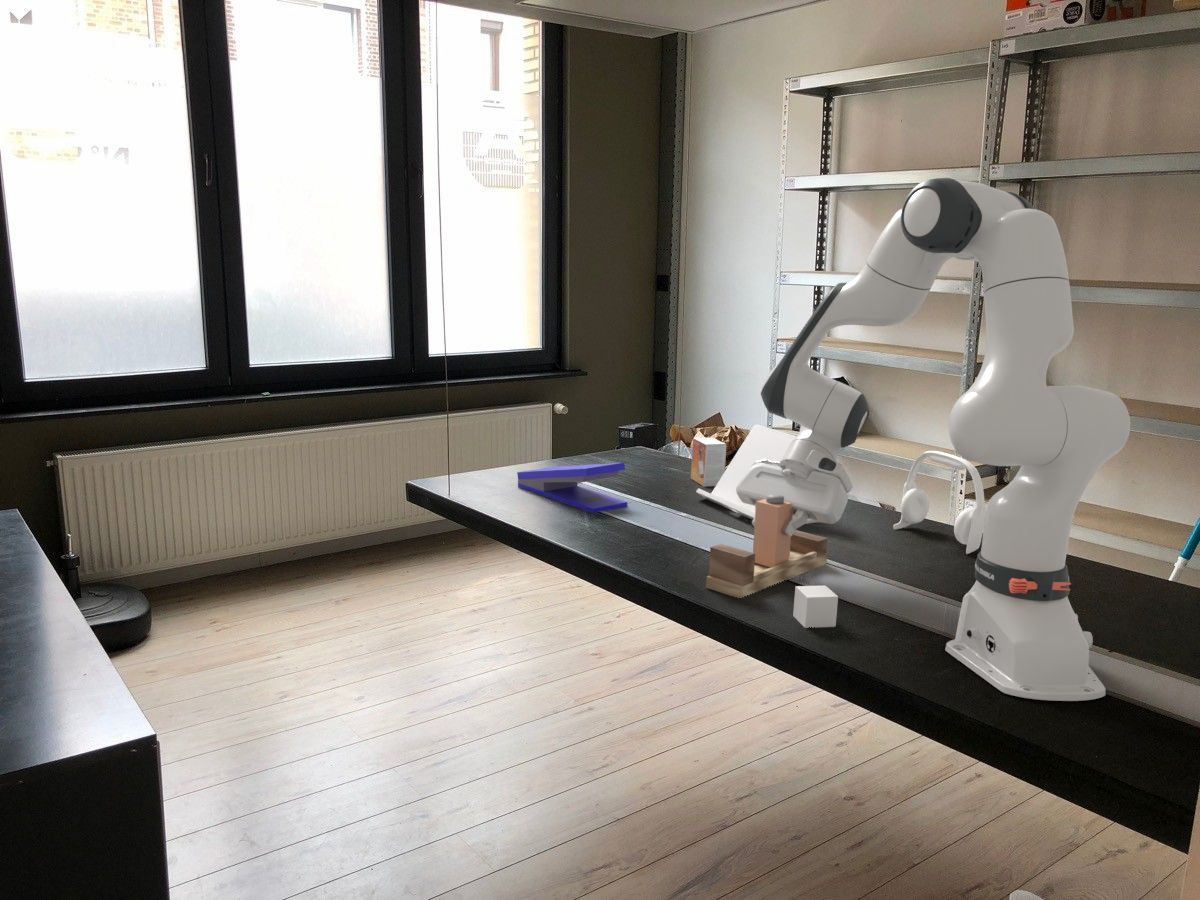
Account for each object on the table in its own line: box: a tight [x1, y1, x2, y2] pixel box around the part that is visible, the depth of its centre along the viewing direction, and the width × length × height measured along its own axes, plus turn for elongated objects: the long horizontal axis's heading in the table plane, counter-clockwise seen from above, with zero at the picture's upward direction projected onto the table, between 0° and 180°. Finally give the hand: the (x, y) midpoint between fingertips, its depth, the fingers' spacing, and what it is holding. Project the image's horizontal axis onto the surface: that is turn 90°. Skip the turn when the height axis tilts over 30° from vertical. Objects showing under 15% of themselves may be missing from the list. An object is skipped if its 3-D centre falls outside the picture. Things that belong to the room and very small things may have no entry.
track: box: [705, 529, 828, 599], centre depth 171 cm, size 27×7×7 cm, turn 136°
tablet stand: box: [696, 423, 820, 525], centre depth 213 cm, size 18×25×17 cm
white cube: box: [792, 584, 839, 629], centre depth 150 cm, size 5×5×5 cm
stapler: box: [516, 462, 629, 514], centre depth 220 cm, size 12×28×10 cm, turn 40°
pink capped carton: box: [752, 494, 793, 567], centre depth 170 cm, size 5×5×12 cm
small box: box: [690, 437, 727, 488], centre depth 237 cm, size 8×6×10 cm
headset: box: [892, 450, 987, 555], centre depth 194 cm, size 20×7×18 cm, turn 25°
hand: (770, 530), depth 169 cm, fingers closed on pink capped carton, 5 cm apart
